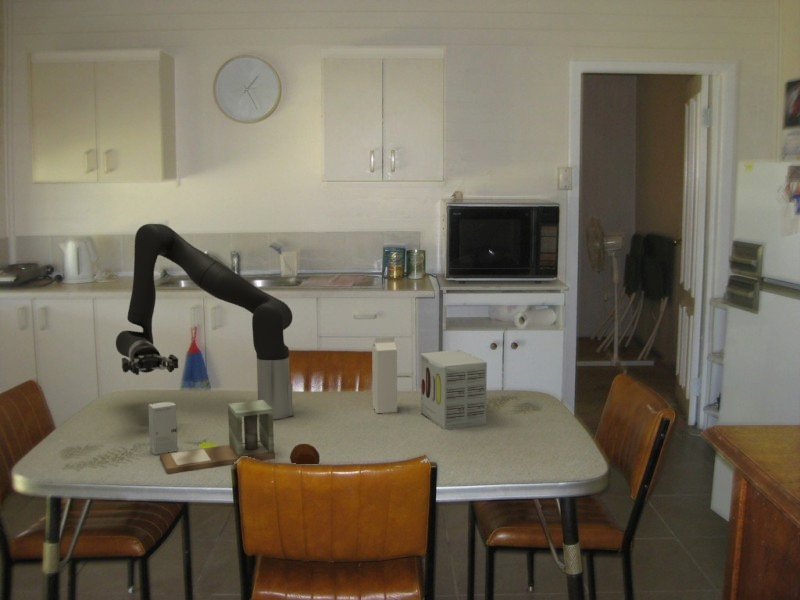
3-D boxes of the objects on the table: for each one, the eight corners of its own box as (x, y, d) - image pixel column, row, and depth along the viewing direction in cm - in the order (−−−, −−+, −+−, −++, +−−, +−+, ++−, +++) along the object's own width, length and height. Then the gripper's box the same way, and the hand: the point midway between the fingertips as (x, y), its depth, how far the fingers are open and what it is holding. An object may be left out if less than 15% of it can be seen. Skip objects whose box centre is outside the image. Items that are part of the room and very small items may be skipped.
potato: (289, 477, 190) (288, 450, 189) (290, 463, 199) (290, 437, 198) (319, 476, 191) (319, 449, 190) (319, 462, 200) (319, 437, 199)
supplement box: (419, 413, 241) (419, 353, 238) (460, 408, 246) (460, 349, 243) (443, 430, 225) (444, 365, 222) (487, 425, 230) (488, 361, 227)
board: (263, 444, 213) (261, 398, 211) (275, 457, 203) (274, 409, 201) (159, 459, 202) (157, 411, 201) (167, 473, 193) (164, 423, 191)
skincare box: (154, 455, 205) (152, 408, 203) (149, 450, 209) (146, 404, 207) (178, 451, 208) (176, 404, 207) (173, 446, 212) (171, 400, 210)
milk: (397, 412, 242) (397, 338, 238) (377, 414, 240) (377, 340, 237) (391, 406, 247) (391, 334, 244) (372, 408, 246) (372, 335, 242)
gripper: (117, 344, 226) (125, 357, 212) (170, 341, 232) (182, 353, 218) (117, 370, 227) (126, 386, 213) (170, 366, 233) (182, 381, 219)
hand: (154, 369), depth 215 cm, fingers open, 8 cm apart
